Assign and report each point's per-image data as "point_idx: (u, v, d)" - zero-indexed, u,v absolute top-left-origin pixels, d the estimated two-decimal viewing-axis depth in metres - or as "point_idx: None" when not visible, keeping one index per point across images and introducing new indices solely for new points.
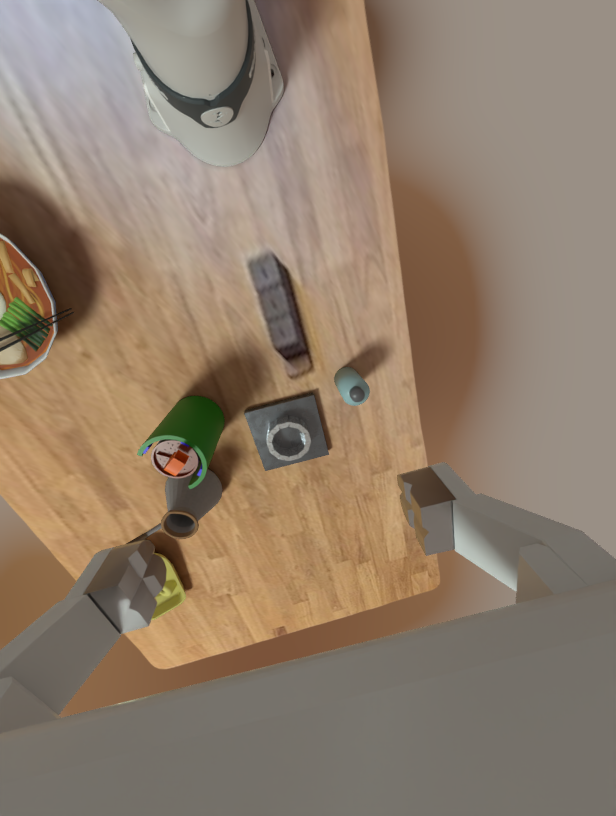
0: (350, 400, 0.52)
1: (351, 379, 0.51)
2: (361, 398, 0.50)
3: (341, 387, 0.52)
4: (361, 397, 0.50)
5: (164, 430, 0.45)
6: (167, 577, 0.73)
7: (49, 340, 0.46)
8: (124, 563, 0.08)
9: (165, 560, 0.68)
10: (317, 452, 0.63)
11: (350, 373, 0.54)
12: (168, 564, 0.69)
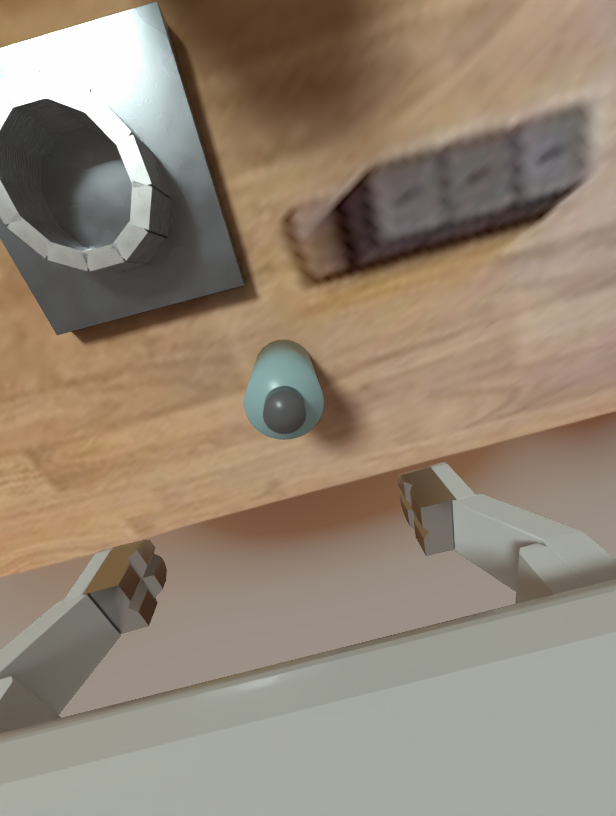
0: (259, 391, 0.18)
1: (320, 388, 0.18)
2: (275, 425, 0.17)
3: (293, 361, 0.18)
4: (279, 424, 0.17)
5: None
6: None
7: None
8: (124, 563, 0.08)
9: None
10: (54, 298, 0.21)
11: None
12: None
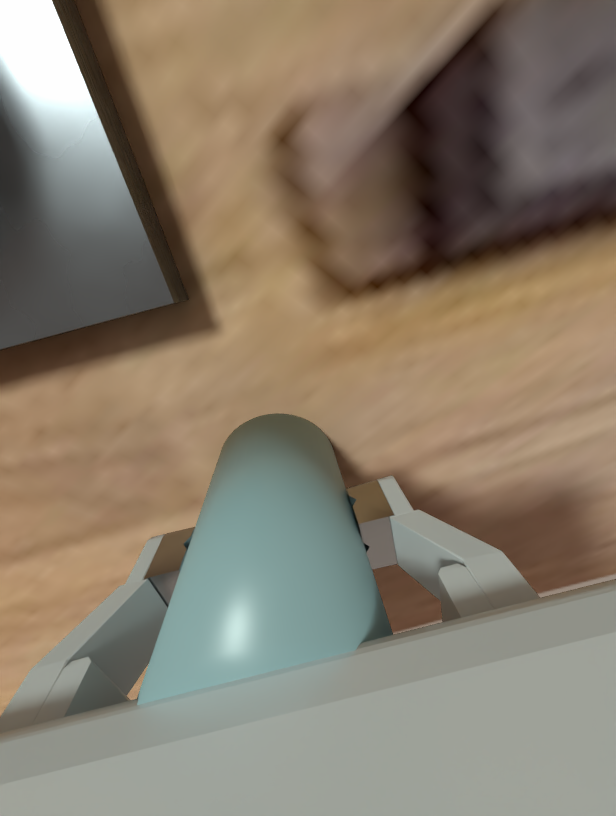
0: None
1: None
2: None
3: (305, 569, 0.05)
4: None
5: None
6: None
7: None
8: (180, 549, 0.08)
9: None
10: None
11: None
12: None
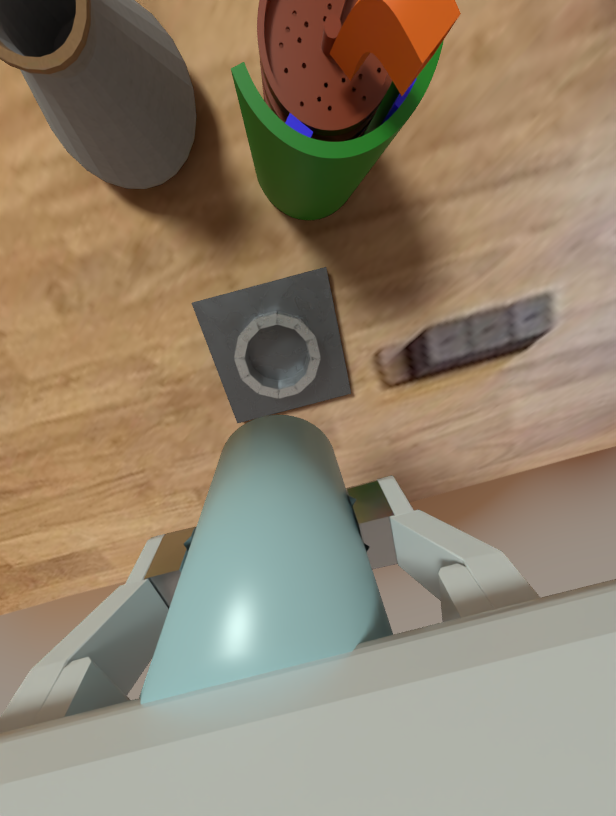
0: None
1: None
2: None
3: (306, 570, 0.05)
4: None
5: None
6: None
7: None
8: (180, 549, 0.08)
9: None
10: (241, 404, 0.35)
11: None
12: None
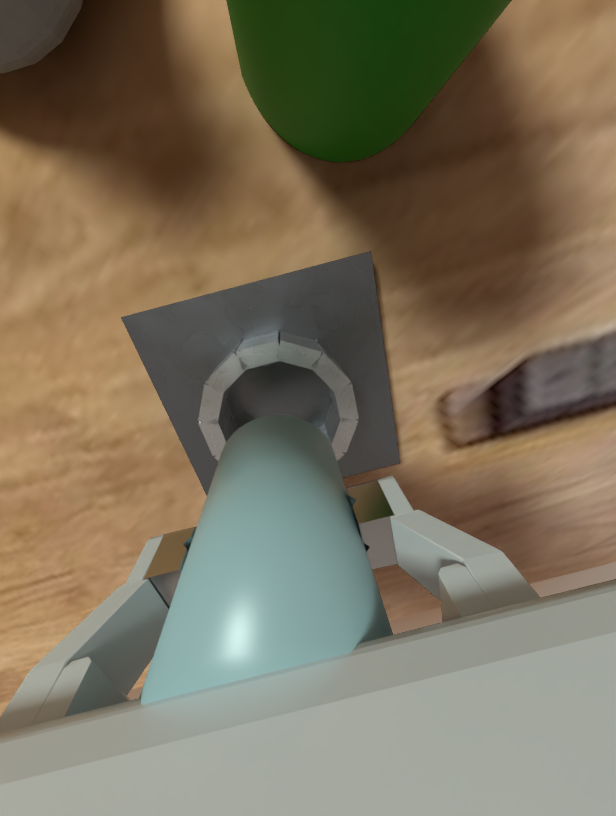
0: None
1: None
2: None
3: (306, 571, 0.05)
4: None
5: None
6: None
7: None
8: (180, 549, 0.08)
9: None
10: None
11: None
12: None
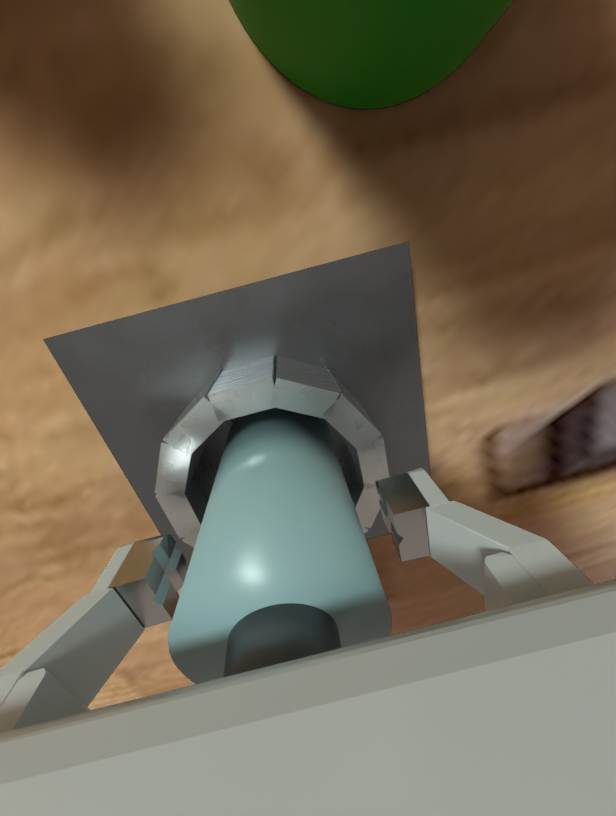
0: (212, 621, 0.06)
1: (381, 585, 0.07)
2: None
3: (305, 515, 0.07)
4: None
5: None
6: None
7: None
8: (148, 557, 0.08)
9: None
10: None
11: None
12: None
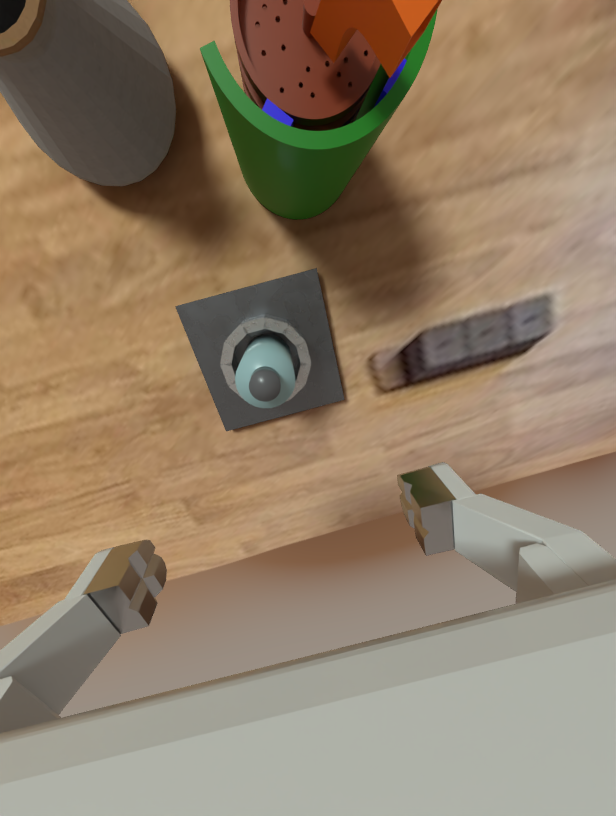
0: (246, 370, 0.24)
1: (292, 368, 0.24)
2: (258, 394, 0.23)
3: (271, 348, 0.24)
4: (261, 394, 0.23)
5: None
6: None
7: None
8: (124, 563, 0.08)
9: None
10: (229, 411, 0.33)
11: None
12: None
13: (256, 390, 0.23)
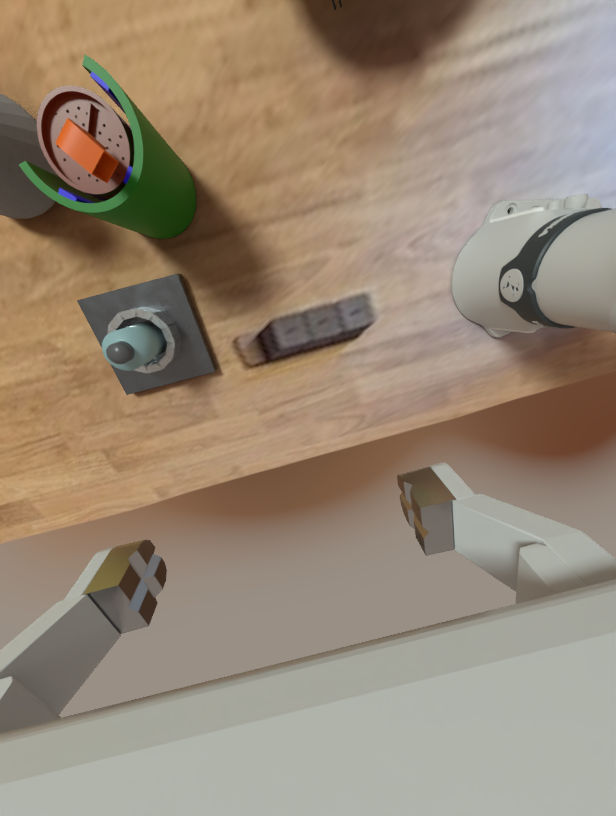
0: (109, 344, 0.35)
1: (143, 343, 0.36)
2: (114, 359, 0.34)
3: (128, 329, 0.36)
4: (116, 359, 0.34)
5: (147, 135, 0.25)
6: None
7: None
8: (124, 563, 0.08)
9: None
10: (127, 379, 0.45)
11: (156, 342, 0.39)
12: None
13: (112, 356, 0.34)
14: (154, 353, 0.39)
